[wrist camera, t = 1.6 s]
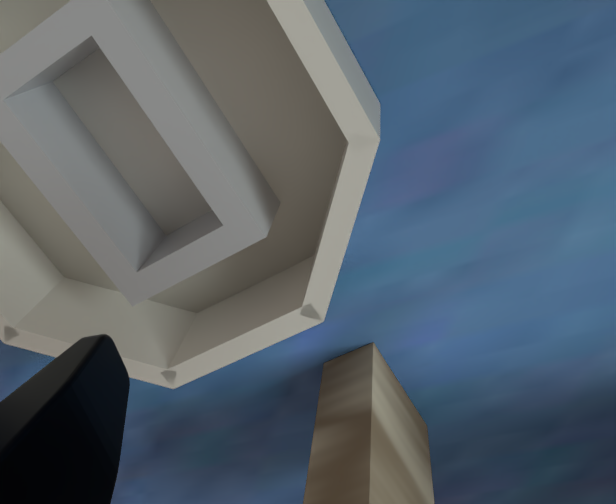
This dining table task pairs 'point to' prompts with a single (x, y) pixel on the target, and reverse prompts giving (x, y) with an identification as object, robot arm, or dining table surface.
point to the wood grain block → (367, 437)
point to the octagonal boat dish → (176, 175)
